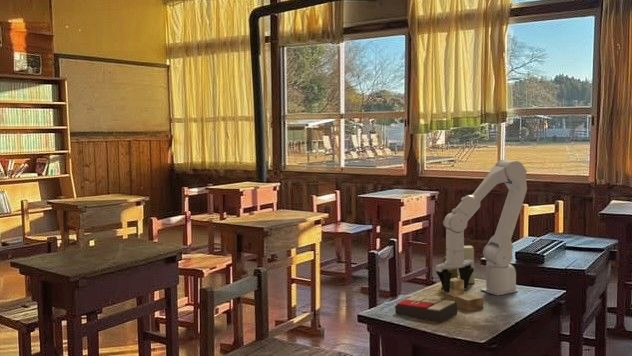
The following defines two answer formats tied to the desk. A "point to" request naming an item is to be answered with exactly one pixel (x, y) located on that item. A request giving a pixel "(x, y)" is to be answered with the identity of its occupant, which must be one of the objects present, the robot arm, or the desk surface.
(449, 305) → the calculator
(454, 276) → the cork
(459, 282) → the beech block
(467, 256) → the box
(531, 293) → the desk surface
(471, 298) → the walnut base
